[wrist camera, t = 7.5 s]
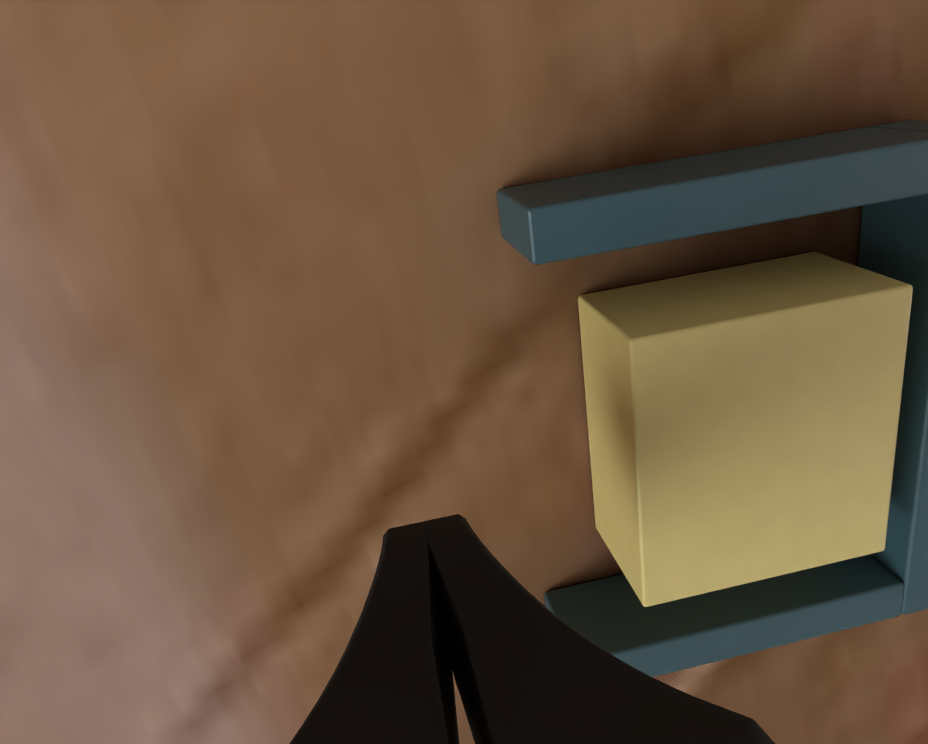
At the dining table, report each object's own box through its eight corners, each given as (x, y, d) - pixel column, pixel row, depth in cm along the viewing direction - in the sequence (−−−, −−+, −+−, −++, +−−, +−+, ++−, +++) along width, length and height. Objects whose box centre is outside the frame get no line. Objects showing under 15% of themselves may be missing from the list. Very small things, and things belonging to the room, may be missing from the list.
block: (815, 250, 16) (915, 284, 13) (803, 481, 18) (886, 551, 16) (576, 295, 16) (630, 340, 13) (595, 528, 18) (643, 609, 15)
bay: (910, 118, 15) (1011, 124, 13) (869, 546, 20) (939, 607, 17) (495, 189, 14) (527, 208, 12) (546, 622, 19) (577, 697, 16)
